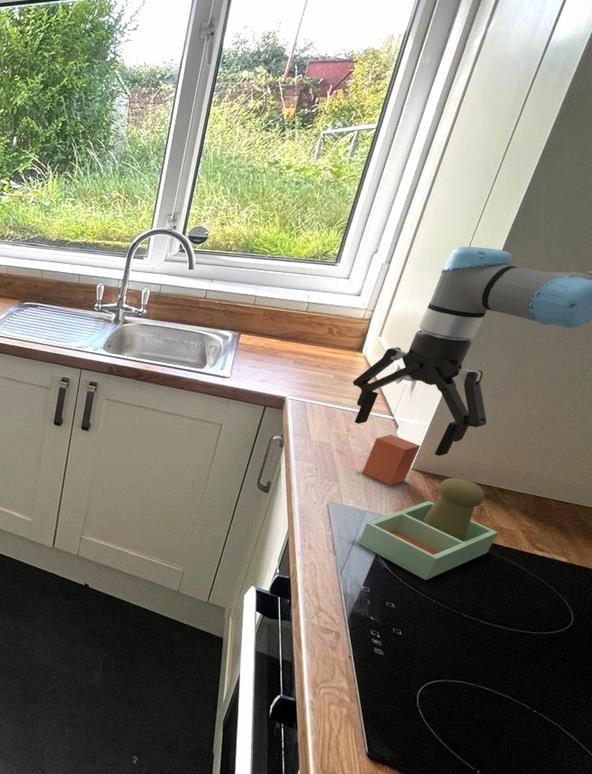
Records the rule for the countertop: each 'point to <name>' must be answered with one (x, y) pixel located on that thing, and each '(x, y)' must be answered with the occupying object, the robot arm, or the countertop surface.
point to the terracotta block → (390, 459)
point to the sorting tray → (423, 542)
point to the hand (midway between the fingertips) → (398, 437)
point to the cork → (454, 507)
